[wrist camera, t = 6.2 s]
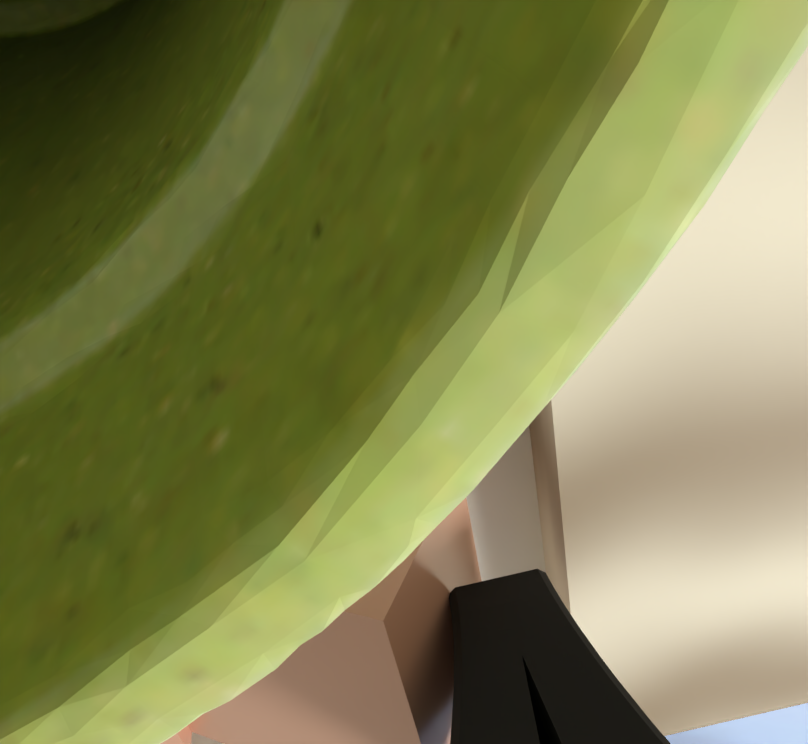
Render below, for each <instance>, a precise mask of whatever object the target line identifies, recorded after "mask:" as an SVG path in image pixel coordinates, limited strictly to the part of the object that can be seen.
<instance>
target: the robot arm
mask: <svg viewBox="0 0 808 744" xmlns="http://www.w3.org/2000/svg"><path fill="white" fill-rule="evenodd" d="M449 603H450V609H451V616H452V628H453V644H454V690H453V707H452V724H451V740H450V744H670V743H669V741H668V740H667V739H666V738H665V737H664V736H663V734H662V733H661V732H660V731H659V730H658V728H657V727H656V726H655V725H654V724H653V723H652V721H651V720H650V719H649V718H648V717H647V715H646V714H645V713H644V712H643V710H642V709H641V708H640V707H639V705H638V704H637V703H636V702H635V700H634V699H633V698H632V697H631V695H630V694H629V693H628V692H627V690H626V689H625V688H624V687H623V685H622V684H621V683H620V682H619V680H618V679H617V678H616V677H615V675H614V674H613V673H612V671H611V670H610V669H609V667H608V666H607V665H606V663H605V662H604V661H603V659H602V658H601V657H600V655H599V654H598V653H597V651H596V650H595V648H594V647H593V646H592V644H591V643H590V642H589V640H588V639H587V637H586V636H585V635H584V633H583V632H582V630H581V629H580V627H579V626H578V624H577V623H576V621H575V620H574V619H573V617H572V616H571V614H570V613H569V611H568V609H567V608H566V606H565V605H564V603H563V602H562V600H561V598H560V597H559V595H558V593H557V592H556V590H555V588H554V587H553V585H552V583H551V581H550V580H549V578H548V576H547V574H546V573H545V572H543V571H541V570H539V569H534V570H529V571H525V572H521V573H516V574H512V575H507V576H503V577H499V578H494V579H490V580H486V581H481V582H477V583H472V584H468V585H464V586H459V587H455V588H454V589H453V590H452V591H451V592H450V595H449Z"/></svg>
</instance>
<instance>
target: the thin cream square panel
mask: <svg viewBox="0 0 808 744" xmlns="http://www.w3.org/2000/svg"><path fill="white" fill-rule="evenodd" d="M529 429H530V437H531V446H532V455H533V464H534V472H535V481H536V490H537V499H538V507H539V516H540V525H541V534H542V542H543V551H544V560H545V569H546V574H547V576H548V578H549V580H550V581H551V583H552V585H553V587H554V588H555V590H556V592H557V593H558V595H559V597H560V598H561V600H562V602H563V603H564V605H565V606H566V608H567V609H568V611H569V613H570V614H571V616H572V617H573V619H574V620H575V621H576V623H577V624H578V626H579V627H580V629H581V630H582V632H583V633H584V635H585V636H586V637H587V639H588V640H589V642H590V643H591V644H592V646H593V647H594V648H595V650H596V651H597V653H598V654H599V655H600V657H601V658H602V659H603V661H604V662H605V663H606V665H607V666H608V667H609V669H610V670H611V671H612V673H613V674H614V675H615V677H616V678H617V679H618V680H619V682H620V683H621V684H622V685H623V687H624V688H625V689H626V690H627V692H628V693H629V694H630V695H631V697H632V698H633V699H634V700H635V702H636V703H637V704H638V705H639V707H640V708H641V709H642V710H643V712H644V713H645V714H646V715H647V717H648V718H649V719H650V720H651V721H652V723H653V724H654V725H655V726H656V727H657V728H658V730H659V731H660V732H661V733H662V734H663V736H666V735H671V734H675V733H679V732H684V731H688V730H692V729H696V728H701V727H705V726H709V725H714V724H718V723H722V722H727V721H731V720H735V719H739V718H744V717H748V716H752V715H757V714H761V713H765V712H770V711H774V710H778V709H782V708H787V707H791V706H795V705H800V704H804V703H808V47H807V48H806V50H805V51H804V53H803V54H802V56H801V57H800V59H799V60H798V62H797V63H796V65H795V66H794V68H793V69H792V71H791V72H790V74H789V75H788V77H787V78H786V80H785V81H784V82H783V84H782V85H781V87H780V88H779V90H778V91H777V93H776V94H775V96H774V97H773V99H772V100H771V102H770V103H769V105H768V106H767V108H766V109H765V111H764V112H763V114H762V116H761V117H760V119H759V120H758V122H757V123H756V125H755V127H754V128H753V130H752V131H751V133H750V134H749V136H748V138H747V139H746V141H745V142H744V144H743V145H742V147H741V149H740V150H739V152H738V153H737V155H736V157H735V158H734V160H733V161H732V163H731V164H730V166H729V168H728V169H727V171H726V172H725V174H724V175H723V177H722V179H721V180H720V182H719V183H718V185H717V186H716V188H715V190H714V191H713V193H712V194H711V196H710V198H709V199H708V201H707V202H706V204H705V205H704V207H703V208H702V209H701V211H700V212H699V213H698V215H697V216H696V217H695V219H694V220H693V221H692V223H691V224H690V225H689V227H688V228H687V229H686V231H685V232H684V233H683V235H682V236H681V237H680V238H679V240H678V241H677V242H676V244H675V245H674V246H673V248H672V249H671V250H670V252H669V253H668V254H667V256H666V257H665V258H664V260H663V261H662V262H661V264H660V265H659V266H658V268H657V269H656V270H655V272H654V273H653V274H652V276H651V277H650V278H649V280H648V281H647V282H646V284H645V285H644V286H643V288H642V289H641V290H640V292H639V293H638V294H637V296H636V297H635V298H634V300H633V301H632V302H631V303H630V305H629V306H628V307H627V308H626V310H625V311H624V312H623V313H622V315H621V316H620V317H619V318H618V320H617V321H616V322H615V323H614V325H613V326H612V327H611V328H610V329H609V331H608V332H607V333H606V334H605V336H604V337H603V338H602V339H601V341H600V342H599V343H598V344H597V346H596V347H595V348H594V349H593V351H592V352H591V353H590V354H589V356H588V357H587V358H586V359H585V361H584V362H583V363H582V364H581V366H580V367H579V368H578V369H577V371H576V372H575V373H574V374H573V375H572V376H571V377H570V379H569V380H568V381H567V382H566V383H565V384H564V385H563V387H562V388H561V389H560V390H559V391H558V392H557V394H556V395H555V396H554V397H553V398H552V399H551V400H550V402H549V403H548V404H547V405H546V406H545V407H544V408H543V410H542V411H541V412H540V413H539V414H538V415H537V416H536V418H535V419H534V420H533V421H532V422H531V423H530V425H529Z"/></svg>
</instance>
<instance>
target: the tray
mask: <svg viewBox="0 0 808 744" xmlns="http://www.w3.org/2000/svg"><path fill="white" fill-rule="evenodd" d="M466 499H467V504H468V510H469V515H470V521H471V526H472V532H473V537H474V542H475V548H476V553H477V559H478V564H479V570H480V575H481V581H486V580H490V579H494V578H499V577H503V576H507V575H512V574H516V573H521V572H525V571H529V570H534V569H539V570H541V571H543V572H545V573H546V569H545V560H544V551H543V542H542V534H541V525H540V516H539V507H538V499H537V490H536V481H535V472H534V464H533V455H532V446H531V437H530V429H529V426H528V427H527V428H526V429H525V430H524V432H523V433H522V434H521V435H520V436H519V437H518V439H517V440H516V441H515V442H514V443H513V444H512V446H511V447H510V448H509V449H508V450H507V451H506V453H505V454H504V455H503V456H502V457H501V458H500V459H499V461H498V462H497V463H496V464H495V465H494V466H493V468H492V469H491V470H490V471H489V472H488V473H487V475H486V476H485V477H484V478H483V479H482V480H481V482H480V483H479V484H478V485H477V486H476V487H475V489H474V490H473V491H472V492H471V493H470V494H469V495H468V496H467V497H466ZM191 744H224V743H221V742H218V741H215V740H213V739H210V738H207V737H204V736H201V735H199V734H196V733H193V732H192V739H191Z"/></svg>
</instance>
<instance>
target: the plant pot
mask: <svg viewBox="0 0 808 744" xmlns="http://www.w3.org/2000/svg"><path fill="white" fill-rule="evenodd" d="M807 47H808V0H0V744H161V743H163V742H164V741H166V740H168V739H169V738H171V737H172V736H174V735H175V734H177V733H178V732H179V731H181V730H182V729H183V728H185V727H186V726H188V725H189V724H190V723H192V722H193V721H194V720H196V719H197V718H199V717H200V716H201V715H203V714H204V713H206V712H209V711H211V710H213V709H215V708H217V707H219V706H221V705H223V704H225V703H227V702H229V701H231V700H232V699H233V698H235V697H236V696H238V695H239V694H241V693H242V692H244V691H245V690H246V689H248V688H249V687H251V686H252V685H254V684H255V683H257V682H258V681H260V680H261V679H262V678H264V677H265V676H267V675H268V674H270V673H271V672H273V671H274V670H275V669H277V668H278V667H279V666H280V665H281V664H282V663H283V662H284V661H285V660H286V659H287V658H288V657H289V656H290V655H291V654H292V653H293V652H294V651H295V650H296V649H297V648H298V647H299V646H300V645H301V644H303V643H305V642H306V641H308V640H309V639H311V638H313V637H314V636H316V635H317V634H319V633H320V632H322V631H323V630H324V629H325V628H326V627H328V626H329V625H330V624H331V623H332V622H333V621H334V620H335V619H336V618H337V617H338V616H339V615H340V614H341V613H342V612H344V611H345V610H346V609H347V608H348V607H350V606H351V605H352V604H354V603H355V602H356V601H358V600H359V599H360V598H361V597H363V596H364V595H365V594H367V593H368V592H369V591H371V590H372V589H373V588H374V587H376V586H377V585H378V584H379V583H380V582H381V581H382V580H383V579H384V578H385V577H386V576H388V575H389V574H390V573H391V572H392V571H393V570H394V569H395V568H396V567H397V566H398V565H400V564H401V563H402V562H403V561H404V560H405V559H406V558H407V557H408V556H409V555H410V554H411V553H412V552H413V551H414V550H415V549H416V548H417V546H418V545H419V544H420V543H421V542H422V541H423V540H424V539H425V538H426V537H427V536H428V535H429V534H430V533H431V532H432V531H433V530H434V529H435V528H436V527H437V526H438V525H439V524H440V523H441V522H442V521H443V520H444V519H445V518H446V517H447V516H448V515H449V514H450V513H451V512H452V511H453V510H454V509H455V508H456V507H457V506H458V505H459V504H460V503H461V502H462V501H463V500H464V499H465V498H466V497H467V496H468V495H469V494H470V493H471V492H472V491H473V490H474V489H475V487H476V486H477V485H478V484H479V483H480V482H481V480H482V479H483V478H484V477H485V476H486V475H487V473H488V472H489V471H490V470H491V469H492V468H493V466H494V465H495V464H496V463H497V462H498V461H499V459H500V458H501V457H502V456H503V455H504V454H505V453H506V451H507V450H508V449H509V448H510V447H511V446H512V444H513V443H514V442H515V441H516V440H517V439H518V437H519V436H520V435H521V434H522V433H523V432H524V430H525V429H526V428H527V427H528V426H529V425H530V423H531V422H532V421H533V420H534V419H535V418H536V416H537V415H538V414H539V413H540V412H541V411H542V410H543V408H544V407H545V406H546V405H547V404H548V403H549V402H550V400H551V399H552V398H553V397H554V396H555V395H556V394H557V392H558V391H559V390H560V389H561V388H562V387H563V385H564V384H565V383H566V382H567V381H568V380H569V379H570V377H571V376H572V375H573V374H574V373H575V372H576V371H577V369H578V368H579V367H580V366H581V364H582V363H583V362H584V361H585V359H586V358H587V357H588V356H589V354H590V353H591V352H592V351H593V349H594V348H595V347H596V346H597V344H598V343H599V342H600V341H601V339H602V338H603V337H604V336H605V334H606V333H607V332H608V331H609V329H610V328H611V327H612V326H613V325H614V323H615V322H616V321H617V320H618V318H619V317H620V316H621V315H622V313H623V312H624V311H625V310H626V308H627V307H628V306H629V305H630V303H631V302H632V301H633V300H634V298H635V297H636V296H637V294H638V293H639V292H640V290H641V289H642V288H643V286H644V285H645V284H646V282H647V281H648V280H649V278H650V277H651V276H652V274H653V273H654V272H655V270H656V269H657V268H658V266H659V265H660V264H661V262H662V261H663V260H664V258H665V257H666V256H667V254H668V253H669V252H670V250H671V249H672V248H673V246H674V245H675V244H676V242H677V241H678V240H679V238H680V237H681V236H682V235H683V233H684V232H685V231H686V229H687V228H688V227H689V225H690V224H691V223H692V221H693V220H694V219H695V217H696V216H697V215H698V213H699V212H700V211H701V209H702V208H703V207H704V205H705V204H706V202H707V201H708V199H709V198H710V196H711V194H712V193H713V191H714V190H715V188H716V186H717V185H718V183H719V182H720V180H721V179H722V177H723V175H724V174H725V172H726V171H727V169H728V168H729V166H730V164H731V163H732V161H733V160H734V158H735V157H736V155H737V153H738V152H739V150H740V149H741V147H742V145H743V144H744V142H745V141H746V139H747V138H748V136H749V134H750V133H751V131H752V130H753V128H754V127H755V125H756V123H757V122H758V120H759V119H760V117H761V116H762V114H763V112H764V111H765V109H766V108H767V106H768V105H769V103H770V102H771V100H772V99H773V97H774V96H775V94H776V93H777V91H778V90H779V88H780V87H781V85H782V84H783V82H784V81H785V80H786V78H787V77H788V75H789V74H790V72H791V71H792V69H793V68H794V66H795V65H796V63H797V62H798V60H799V59H800V57H801V56H802V54H803V53H804V51H805V50H806V48H807Z"/></svg>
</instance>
